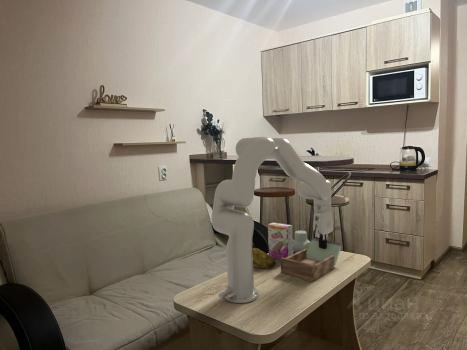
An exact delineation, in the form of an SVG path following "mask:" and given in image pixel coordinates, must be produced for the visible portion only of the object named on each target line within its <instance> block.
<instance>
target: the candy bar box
mask: <svg viewBox="0 0 467 350" xmlns="http://www.w3.org/2000/svg"><path fill="white" fill-rule="evenodd" d="M293 233H294V232H293V225H291V224H285V223H279V222H271V223H268V224H267V240H268V241H267V242H268V243H267V244H268V255H270V256H272V257H273V258H274V259H275V260H279V261H281V260H280V258H281V257H283V258H286V257H289V256H291V255H293V254H294V251H293V240H294V237H293V235H294V234H293Z"/></svg>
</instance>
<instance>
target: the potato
mask: <svg viewBox="0 0 467 350" xmlns="http://www.w3.org/2000/svg"><path fill="white" fill-rule="evenodd" d="M252 255H253V266H255V267H257V268H259V269H271V268H273V267H274V266H276V259H274V258H273V257H272V256H270V255H269V253H266V252H265V251H263V250H261V249H259V248H256V247H252Z"/></svg>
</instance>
